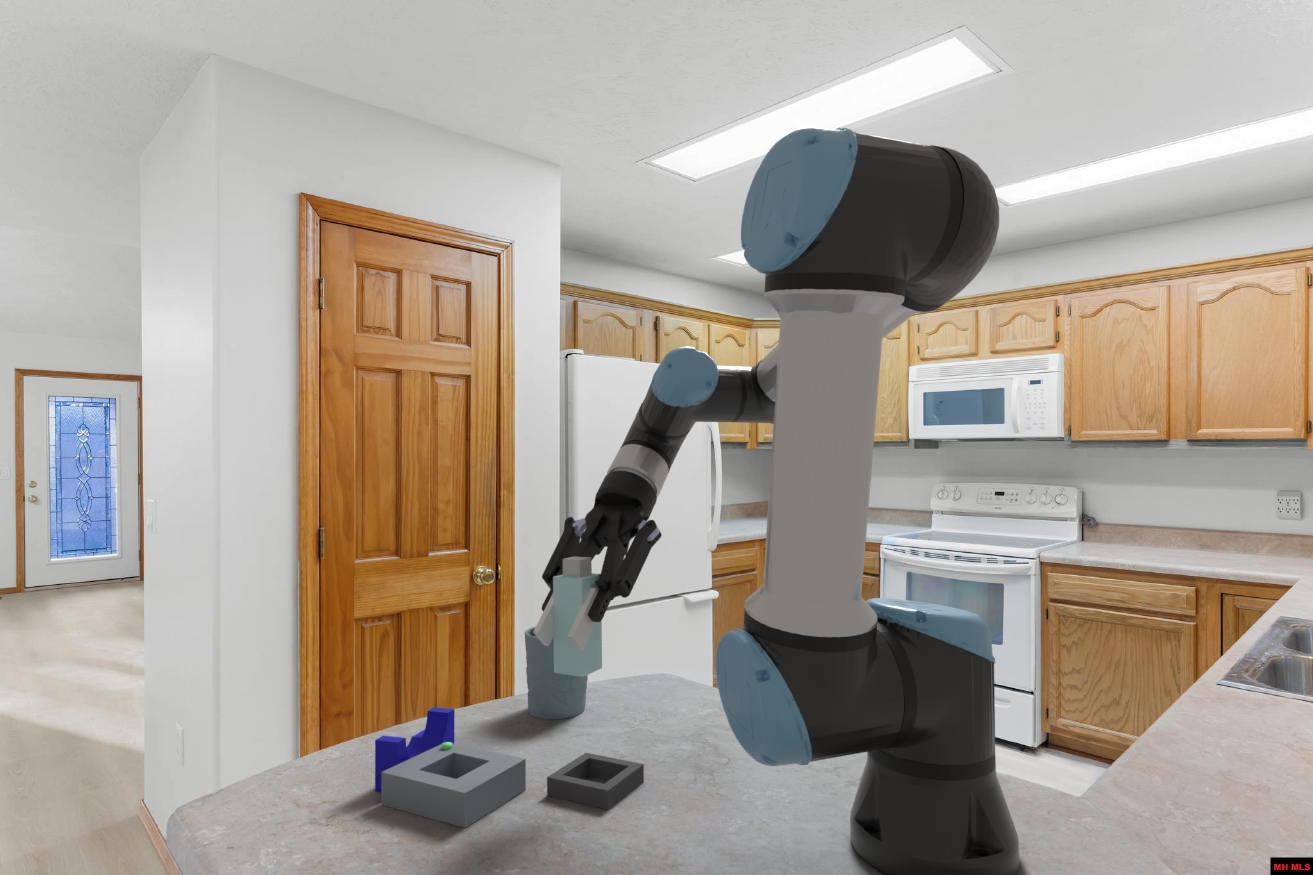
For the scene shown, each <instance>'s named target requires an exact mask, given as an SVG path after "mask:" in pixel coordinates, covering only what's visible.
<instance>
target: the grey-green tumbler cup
mask: <svg viewBox="0 0 1313 875" xmlns="http://www.w3.org/2000/svg"><path fill="white" fill-rule="evenodd" d="M535 627H536V626H532V627H529V628H527V629H526V630H525V631H524V642H525V643H524V645H525V646H524V647H525V654H526V656H525V658H526V660H525V661H526V668H525V671H526V672H525V673H526V684H527V690H528V691H527V709H528V713H529V714H530V715H531V716H532V717H534V718H538V719H543V720H563V719H569V718H574V717H576V716H579V715H581V714H582V713H583V712H584V711H585V709H586V699H587V689H588V680H589V678H588V676H589V674H588V675H586V676H584V677H579V676H573V675H566V674H560V673H554V637H553V639H552V641H551V643H550V645H549V646H545V645H543V644H542V643H541V641H540V640H539V639H538V638H537V636H536V635H535V634H534V633H533V631H534V629H535Z"/></svg>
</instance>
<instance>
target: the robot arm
mask: <svg viewBox="0 0 1313 875" xmlns="http://www.w3.org/2000/svg"><path fill="white" fill-rule="evenodd" d="M741 217H742V218H741V226H740V240H741V241H740V244H741V247H742V249H743V250H744V251H743V257H744V259H745V261H746V263H747V264H748V265H749V266H750V267H751V268H752V269H754V270H755V271H757V272H758V273H760V274H765V276H764V292H763V293H764V294H763V296H764V297H763V298H764V299H765V300H766V301H767V303H768V304H770V305H771V307H772V308H773V309H774V310H775V311H776V312H777V314H778V316H779V318H780V320H779V332H778V333H779V334H778V335H779V336H778V337H779V338H778V344H777V345H775V347H773V348H772V349H771V350H770V351H769V352H768V353H767V354H766V355H765V356H764V357H763V358H762V359H761V360H760V361H758V363H757V364H756V365H754V366H735V365H734V366H733V365H717V362H716V361H715V359H713V358H712V357H711V355H709V354H708V353H707V352H705V351H700V350H697V349H696V348H695V347H694V346H678V347H676V348H673V349H672V350H670V351H669V352H667V354H665V355H664V357H663V358H662V360H661V362H660V363H659V365H658V367H657V368H656V370H655V372H654V373H653V376H652V379H651V382H650V384H649V387H648V390H647V392H646V395H645V398H644V399H643V401H642V403H640V406H639V407H638V408H639V409H637V410H638V411H637V413H636V415H635V416H634V417H635V418H634V419H633V422H632V423H631V426H630V427H629V429H628V432H627V434H626V436H625V438H624V440H623V442H622V444H621V446H620V448H619V449H618V451H617V453H616V455H615V457H614V458H613V461H612V463H610V466H609V468H608V470H607V471H606V475H605V476H604V478H603V480H602V482H601V484H600V486H599V487H598V490H597V491H596V494H595V496H594V497H595V498H594V504H593V508H592V509H591V510H589V511H588V512H587V513H586V515H585V516H584V518H580V519H577V520H576V519H574V517H572V516H569V517H567V518H566V519H565V520H564V524H563V526H564V527H563V531H562V534H561V536H560V538H559V540H558V542H557V544H556V546H555V549H554V550H553V552H552V553H551V557H550V558H549V560H548V562H547V565H546V567H545V569H544V570H543V573H542V575H541V579H542V580H543V581H544V582H545V584H546V585H547V587H548V588H549V591H548V593H547V596H546V597H545V599H544V602H543V603H542V606H541V610H542V613H541V616H540V617H539V620H538V622H537V624H536V625H535V626H534V627H535V629H534V631H533V633H534V634H535V635H536V636H537V638H538V639H539V640H540V641H541V643H542V644H543V645H545V646H549V645H550V643H551V641H552V639H553V637H554V616H553V577H554V576H559V575H563V559H565V558H570V557H574V556H575V557H591V562H592V561H593V559H594V558H595V557H596V556H598V555H600V554H601V553H602V551H603V550H604V549H605V548H606V551H605V554H604V557H603V558H604V559H603V564H602V568H601V571H600V573H599V574H600V578H599V581H597V582H598V583H597V582H596V581H595V583H596V585H597V586H598V588H599V590H598V591H597V589H596V588H590V590H589V592H588V594H587V596H586V599H585V601H584V603H583V605H582V606H581V608H580V611H579V613H578V615H577V617H576V619H575V621H574V623H573V625H572V628H571V630H570V632H569V634H568V636H567V637H568V638H569V639H570V641H571V642H572V643H573V645H574V646H575V647H576V649H577V650H582V651H583V650H584V647H585V645H586V643H587V641H588V638H589V636H590V634H591V632H592V630H593V627H594V625H595V623H596V622H600V621H601V620H603V619H604V617H605V614H606V612H607V610H608V607H609V605H610V603H611V601H614V599H615V598H616V597H617V598H618V597H621V598H628V597H629V596H630V595H631V593H632V590H633V589H634V587H635V584H636V582H637V580H638V578H639V576H640V573H641V571H642V569H643V567H644V565H645V563H646V560H647V558H648V557H649V554H650V552H651V551H652V548H653V547H654V546H655V544H657V542H658V541H659V540H660V539H662V536H663V535H662V532H661V531H660V528H659V527H658V525H657V523H656V521H655V520H654V519H649V518H650V517H651V515H652V512H653V509H654V507H655V505H656V504H657V498H658V497H659V496H660V493H661V491H662V489H663V486H664V485H665V483H666V482H665V481H666V480H667V477H668V475H669V473H670V471H671V468H672V466H673V463H674V461H675V460H676V457H677V455H678V453H679V451H680V449H681V448H682V445H683V443H684V442H685V440H686V438H687V436H688V435H689V434H690V431H691V430H692V428H693V427H694V425H695V423H703V422H704V423H742V424H743V423H744V424H745V423H750V424H751V423H752V424H753V423H754V424H771V425H773V427H772V440H771V442H772V443H771V455H770V459H771V460H770V470H769V472H770V473H769V487H768V504H767V516H766V517H767V518H766V531H765V532H766V533H765V550H764V562H763V563H764V565H763V577H762V579H763V580H762V585H761V586H760V587H758V589H757V590H754V592H753V593H752V594H750V595H748V597H747V598H746V599H745V601H744V613H743V625H742V626H743V627H742V628H737V627H736V628H734V629H731V630H730V631H727V632H726V633H724V634H723V635H722V637H721V638H720V640H719V642H718V644H717V647H716V654H715V674H716V682H717V687H718V688H717V689H718V694H719V697H720V701H721V704H722V705H721V706H722V708H723V711H724V713H725V716H726V719H727V723H728V724H729V727H730V729H731V731H732V733H733V735H734V736H735V738H736V740H737V742H738V743H739V745H740V746H741V747H742V748H743V750H744V751H745V752H746V753H747V754H748V756H750V758H752V759H753V760H754V761H756V762H758V763H760V764H761V765H764V766H768V767H779V766H785V765H786V766H788V765H799V766H807V765H810V764H809V763H811V762H818V761H822V760H823V761H824V760H828V759H833V758H840V757H845V756H851V755H856V754H862V753H863V754H864V753H867V754H866V763H865V764H864V768H863V772H862V775H861V778H860V780H859V785H858V787H857V791H856V794H855V797H854V801H853V803H852V806H851V810H850V817H849V819H850V820H849V822H850V823H849V824H850V827H849V828H850V830H849V831H850V832H849V833H850V841H851V844H852V847H853V849H854V851H855V853H857V854H858V855H859V856H860V858H862V859H863V860H864V861H865V862H867V863H868V864H870V865H871V866H872V867H874V868H876V869H877V870H879V871H881V872H883V873H885V874H887V875H1016V874H1017V872H1018V871H1019V867H1020V842H1019V836H1018V832H1017V829H1016V826H1015V824H1014V820H1013V818H1012V815H1011V812H1010V809H1009V807H1008V804H1007V802H1006V798H1005V795H1004V792H1003V790H1002V787H1001V784H1000V781H999V778H998V774H997V765H996V764H997V762H996V758H997V757H996V714H995V713H996V709H995V707H996V706H995V703H996V702H995V664H996V658H995V656H994V655H993V647H992V646H993V644H992V642H993V640H992V631H991V629H990V628H991V627H990V625H989V623H987V621H986V619H985V618H983V617H982V616H980V615H979V614H976V613H974V612H972V611H968V610H965V609H960V608H957V607H951V606H948V605H947V606H946V605H941V604H935V603H930V602H923V601H915V600H910V599H909V600H908V599H898V598H887V597H886V598H885V597H873V598H869V599H867V600H865V599H864V598H863V594H862V593H863V592H862V591H863V590H862V589H863V578H864V568H865V554H866V542H867V529H868V521H869V520H868V519H869V516H868V515H869V506H870V505H869V504H870V492H871V480H872V470H873V469H872V468H873V458H874V457H873V456H874V446H875V445H874V443H875V433H876V418H877V417H876V416H877V407H878V406H877V405H878V394H879V384H880V383H879V382H880V380H879V379H880V373H881V372H880V371H881V357H882V346H883V344H882V343H883V339H884V338H886V336H888V335H889V334H891V333H892V332H893V331H895V330H896V329H897V328H898V327H900V326H901V325H903V324H904V323H905V322H906V321H907V320H908V319H910V318H911V317H913V315H915V314H928V313H933V312H935V311H937V310H938V309H940V308H941V307H942V306H944V305H946V303H948V302H949V301H951V300H952V299H954V298H955V297H956V296H957V295H958V294H960V293H961V292H962V291H963V290H964V289H965V288H966V287H967V286H968V285H970V283H971V282H972V281H973V280H975V278H976V277H977V276H978V275H979V273H980V272H981V271H982V269H983V267H984V266H985V265H986V264H987V261H988V260H989V258H990V256H991V253H992V251H993V250H994V247H995V245H996V242H997V238H998V232H999V229H1000V205H999V201H998V198H997V193H996V189H995V188H994V185H993V184H992V182H991V180H990V178H989V176H988V175H987V173H986V172H985V171H984V170H983V169H982V168H981V166H980V165H979V164H978V163H977V162H976V161H974V160H973V159H971V158H970V157H969V156H967V155H966V154H964V153H962V152H960V151H957V150H956V149H952V148H949V147H945V146H939V145H932V144H931V145H925V144H922V143H915V142H911V141H907V140H901V139H900V140H899V139H895V138H890V137H885V136H879V135H875V134H870V133H869V134H868V133H863V132H857V131H853V130H852V128H851V129H850V128H847V127H838V128H834V129H833V128H827V127H826V128H825V127H815V126H802V127H799V128H795V129H793V130H791V131H789V132H787V133H786V134H784V135H783V136H782V137H780V138H779V139H778V140H777V141H776V142H775V143H774V144H773V145H772V146H771V148H770V149H769V150H768V151H767V153H766V155H765V156H764V158H763V159H762V161H761V162H760V165H759V166H758V167H757V170H756V171H755V174H754V176H753V178H752V181H751V183H750V186H749V189H748V192H747V194H746V199H745V202H744V206H743V213H742V216H741ZM632 539H633V540H632ZM631 541H632V542H631ZM630 542H631V544H630Z"/></svg>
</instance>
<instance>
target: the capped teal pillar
mask: <svg viewBox="0 0 1313 875" xmlns="http://www.w3.org/2000/svg"><path fill="white" fill-rule="evenodd" d="M592 565H593V564H592V561H591V557H575V556H574V557H570V558H565V559H563V575H559V576H554V577H553V616H554V673H560V674H566V675H573V676H579V677H584V676H586V675H588V676H589V675H591V674H592V673H595V672H596V671H598V670H600V669H602V668H603V644H602V643H603V639H602V638H603V636H602V634H603V633H602V629H603V628H602V622H603V621H602V620H603V619H602V620H601V621H600V622H596V623H595V625H594V627H593V630H592V632H591V634H590V636H589V638H588V641H587V643H586V645H585V647H584V650H583V651H582V650H577V649H576V647H575V646H574V645H573V643H572V642H571V641H570V639H569V638H568V637H567V636H568V634H569V632H570V630H571V628H572V625H573V623H574V621H575V619H576V617H577V615H578V613H579V611H580V608H581V606H582V605H583V603H584V601H585V599H586V596H587V594H588V592H589V590H590V588H596V589H597V591H598V590H599V588H598V586H597V585H596V583H595V581H596V582H597V581H599V578H600V574H601V573H593V572H592V571H593V570H592ZM597 583H598V582H597Z"/></svg>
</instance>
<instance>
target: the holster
mask: <svg viewBox="0 0 1313 875" xmlns="http://www.w3.org/2000/svg"><path fill="white" fill-rule="evenodd" d="M644 768H645V766H644V763H640V762H635V761H631V760H630V761H629V760H626V759H625V760H624V759H620V758H617V757H616V758H615V757H609V756H605V755H600V754H596V753H589V752H584V753H583V754H582V755H580V756H578V757H577V758H575V759H574V760H572V761H570V762H569V763H567V764H566V765H564V766H562V767H561V768H559V769H558V770H556V771H554V772H553V773H551V774H550V775H548V776H546V793H547V794H546V796H549V797H553V798H557V799H562V800H566V801H570V802H573V803H578V804H582V805H583V804H584V805H587V806H591V807H595V808H600V809H603V810H606V811H607V810H610V809H611V808H612V807H613V806H615V805H616V804H617V803H618V802H620V801H621V800H622V799H623V798H625V797H626V796H627V795H629V794H630V793H631V792H632V791H634V790H635V789H636V788H638V787H639V786H641V785H642V783H643V782H645V779H644V778H645V775H644V774H645V773H644V772H645V769H644ZM589 776H593V777H598V778H602V779H605V780H607V782H605V783H602V782H597V781H593V780H592V781H591V780H587V779H585V778H587V777H589Z"/></svg>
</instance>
